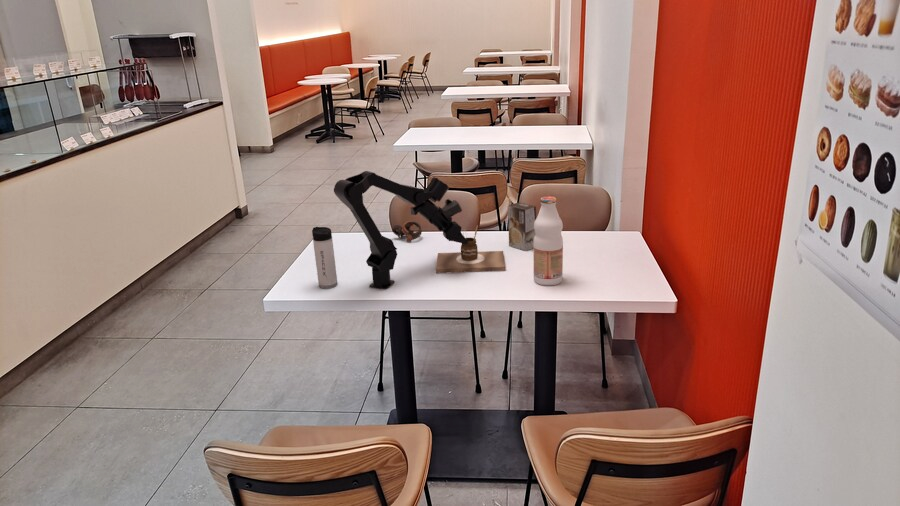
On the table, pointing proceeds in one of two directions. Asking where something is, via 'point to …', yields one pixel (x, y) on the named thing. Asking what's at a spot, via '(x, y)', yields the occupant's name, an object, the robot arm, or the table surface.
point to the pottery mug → (407, 230)
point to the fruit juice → (548, 244)
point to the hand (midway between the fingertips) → (463, 239)
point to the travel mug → (324, 257)
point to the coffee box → (521, 225)
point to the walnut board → (470, 262)
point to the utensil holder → (469, 249)
